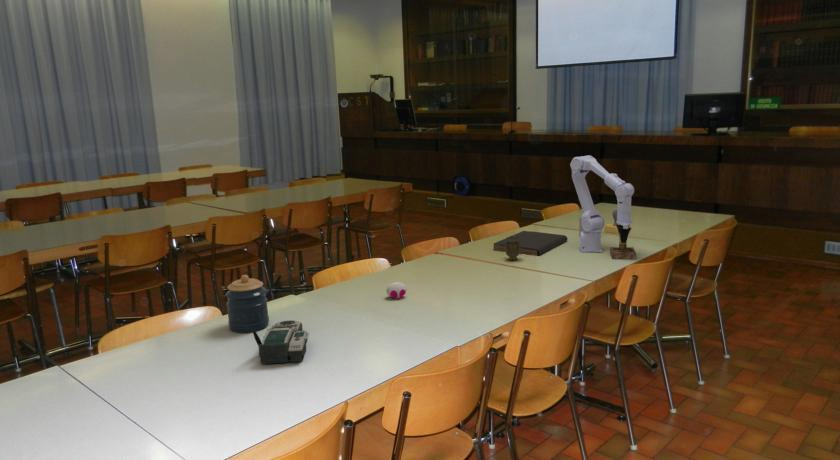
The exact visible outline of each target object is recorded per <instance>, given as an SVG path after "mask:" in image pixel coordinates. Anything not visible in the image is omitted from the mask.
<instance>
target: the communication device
mask: <svg viewBox="0 0 840 460" xmlns="http://www.w3.org/2000/svg"><path fill="white" fill-rule="evenodd" d="M252 334H253V337H254V340H255V342H256V344H257V346H258V356H259V358H260V363H261V364H262V365H268V364H270V365H272V364H284V363H285V364H287V363H288V362H290V363H300V362H302V361H303V360H304V358H305V355H306V352H307V342H308V338H309V335H310V333H309V332H308V331H307V330H303V323H302V322H300V321H299V320H295V319H293V320H292V319H289V320H287V319H285V320H280V321H277V322H276V323H274V324H273V325H271V327H270V328H267V329H266V332H265V334H264V336H263V337H262V341H261V338H260V336H259V334H258V333H257V331H255V330H253V332H252Z"/></svg>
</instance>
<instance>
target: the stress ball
mask: <svg viewBox="0 0 840 460" xmlns="http://www.w3.org/2000/svg"><path fill="white" fill-rule="evenodd" d="M407 290H408V289H407V286H406V285H405V284H404V283H403V282H401V281H395V282H391V283H389V284H388V286H386V294H387V296H388V297H390V298H393V299H397V300H400V298H402V297H403V296H405V295H406V294H407Z"/></svg>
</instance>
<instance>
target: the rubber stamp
mask: <svg viewBox="0 0 840 460" xmlns="http://www.w3.org/2000/svg"><path fill="white" fill-rule="evenodd" d="M612 218H613V222H614V223H607V224H605V225H604V228H603V229H604V231H603V232H604V233H608V234H609V233H610V234H615V235H616V234H617V235H619V232H618V229H617V226H616V225H619V224H617V223H616V221H617V209H613V210H612Z"/></svg>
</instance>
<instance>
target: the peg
mask: <svg viewBox="0 0 840 460" xmlns="http://www.w3.org/2000/svg"><path fill="white" fill-rule="evenodd" d="M627 244H628V242H626V243H621V240H620V233H619V234H618V247H619V248H620V249H626V248H627V247H628V245H627Z"/></svg>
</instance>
